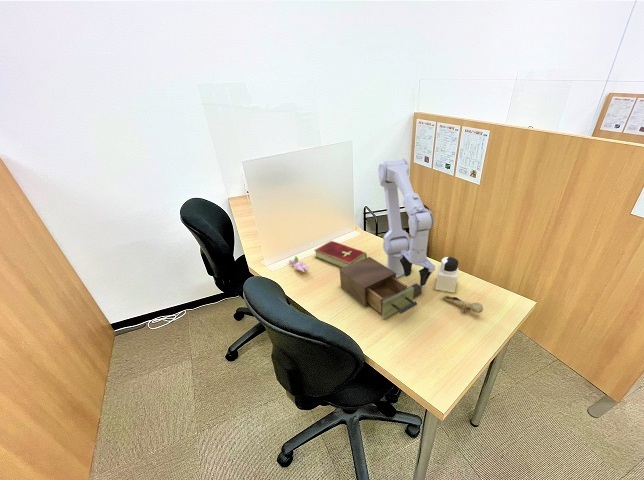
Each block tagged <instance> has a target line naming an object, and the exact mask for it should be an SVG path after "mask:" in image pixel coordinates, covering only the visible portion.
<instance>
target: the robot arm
mask: <svg viewBox="0 0 644 480" xmlns="http://www.w3.org/2000/svg"><path fill="white" fill-rule="evenodd" d="M377 172H378V173H377V174H378V181H379V186H381V187H383V190H384V197H385V205H386V206H385V207H386V213H387V221H388V231H387V232H386V233H385V234H384V235H383V237H382V238H383V239H382V240H383V242H382V246H383V247H382V249H383V251H384V254H385V255H387V256H386V257H387V260H386V267H387V268H389V269H390V270H392V271H393V272H395V273H396V279H398V278H400V277H402V276H404V277H409V276H411V274H412V267H413V265H415V266H419V267H422V268H421V269H419V270H418V273H419V275H420V276H419V279H420V280H419V285H421V286H423V285H426V284H427V282H428V279H429V278H430V276H431V275H432V274H433V273H434V272H435V271H436V265H435V264H433V263H432V262H431V261H430V260H429V259H428V258H427V257H428V256H427V252H428V243H429V234H430V230H431V229H433V227H434V223H435V219H434V215H433V213H432V211H431V210H429V209H428V208H426V207H425V206H424V203H423V201H422V200H421V199H422V198H421V197H420V195H419V193H416V192H414V189H413V186H412V183H411V180H410V177H409V175H410V163H409V161H408V160H407V159H406V158H402V159H393V160H385V161H384V160H382V161H380V163H379V165H378V169H377ZM398 189H399V191H400V193H401V195H402V197H403V199H402V205H403V207H404V210H405V213H406V214H407V215H408V223H407V224H408V228H409V231H408V232H409V233H408V232H407V231H406V230H404V229H403V225H402V218H401V217H402V216H401V208H400V200H399V198H400V197H399V192H398ZM409 235H410V237H409Z"/></svg>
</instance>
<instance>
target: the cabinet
mask: <svg viewBox="0 0 644 480" xmlns="http://www.w3.org/2000/svg"><path fill="white" fill-rule="evenodd" d="M392 276H393V277H394V278H396V273H395V272H393V271H392V270H390V269H389V268H387V266H385V265H384V264H382V263H381V262H379V261H377V260H376V259H374V258H373V257H370V256H367V258H365V259H363V260H360V261H358V262H356V263H353V264H351V265H348V266H346V267H343V268H339V280H340V288H341V289H342V290H343V291H345V292H346V293H347V294H348V295H350V296H351V297H352V298H353V299H354V300H356V301H357V302H358V303H359V304H360V305H362V306H363V307H364V308H367V307H368V306H371V305H370V304H368V303H367V292H366V289H367V288H369V287H371V286H374V285H376V284H378V283H380V282H382V281H384V280H386V279H388V278H390V277H392ZM396 279H397V278H396Z"/></svg>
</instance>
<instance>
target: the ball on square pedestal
mask: <svg viewBox="0 0 644 480" xmlns="http://www.w3.org/2000/svg"><path fill="white" fill-rule="evenodd" d="M440 261H441V262H440V265H439V266H438V270H437V275H436V281H435V290H436V291H441V292H448V293H453V294H454V293H455V292H456V287H457V283H458V276H459V260H458V259H457V258H455V257H453V256H444V257H443V258H441V260H440Z"/></svg>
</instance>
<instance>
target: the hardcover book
mask: <svg viewBox="0 0 644 480" xmlns="http://www.w3.org/2000/svg"><path fill="white" fill-rule="evenodd" d="M314 252H315V257H314V258H315V259H318V260H320V261H322V262H325V263H328V264H329V265H333V266H335V267H338V268H339V269H341V268H343V267H346V266H348V265H351V264H353V263H356V262H358V261H360V260H363V259H365V258H368V255H367V252H365V251H362V250H359V249H357V248H354V247H351V246H348V245H345V244H342V243H339V242H336V241H333V240H330V241H328V242H326V243H324V244H323V245H321V246H319V247H317V248H315V249H314Z"/></svg>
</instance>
